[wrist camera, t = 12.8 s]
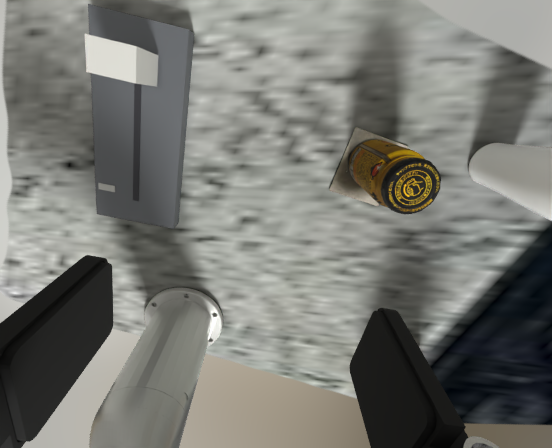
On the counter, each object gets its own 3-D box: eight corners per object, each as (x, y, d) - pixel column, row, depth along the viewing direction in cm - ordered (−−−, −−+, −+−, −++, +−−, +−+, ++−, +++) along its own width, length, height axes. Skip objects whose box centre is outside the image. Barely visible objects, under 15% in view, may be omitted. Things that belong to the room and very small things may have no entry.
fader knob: (157, 86, 30) (135, 83, 26) (115, 76, 30) (86, 72, 25) (158, 55, 29) (136, 46, 24) (115, 44, 29) (84, 33, 24)
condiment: (407, 145, 35) (467, 165, 24) (377, 205, 38) (418, 247, 27) (355, 126, 34) (392, 137, 23) (328, 189, 37) (350, 225, 26)
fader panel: (178, 222, 39) (173, 229, 37) (105, 208, 38) (96, 214, 36) (194, 33, 30) (188, 29, 28) (99, 9, 29) (87, 3, 28)
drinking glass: (452, 185, 37) (556, 233, 23) (473, 132, 34) (604, 151, 21) (500, 191, 37) (630, 242, 24) (524, 139, 35) (687, 163, 21)
